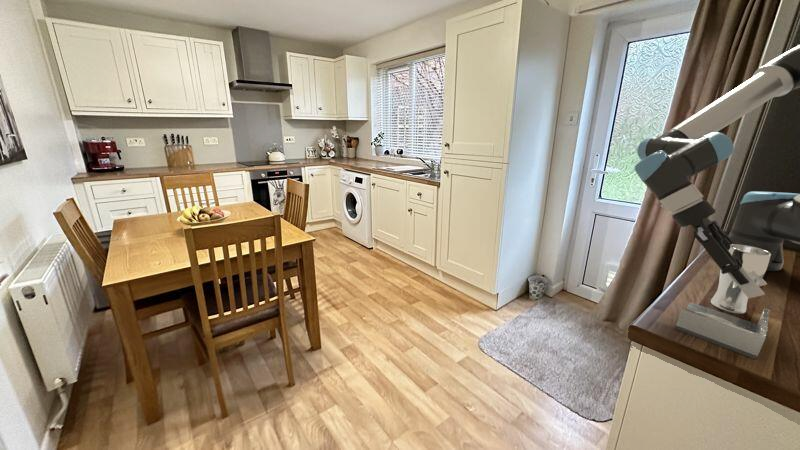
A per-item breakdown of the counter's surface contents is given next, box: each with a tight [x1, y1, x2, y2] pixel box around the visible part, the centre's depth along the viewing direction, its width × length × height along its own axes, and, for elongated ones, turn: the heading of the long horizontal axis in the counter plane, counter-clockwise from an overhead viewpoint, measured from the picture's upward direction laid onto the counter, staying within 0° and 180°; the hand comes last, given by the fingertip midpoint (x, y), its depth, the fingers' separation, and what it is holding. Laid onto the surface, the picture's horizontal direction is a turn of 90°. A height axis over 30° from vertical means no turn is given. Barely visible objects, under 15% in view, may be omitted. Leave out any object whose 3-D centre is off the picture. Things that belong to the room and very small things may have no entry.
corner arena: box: [674, 302, 771, 360], centre depth 68 cm, size 15×12×5 cm
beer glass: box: [710, 244, 771, 315], centre depth 75 cm, size 7×7×15 cm
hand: (757, 290), depth 73 cm, fingers closed on beer glass, 7 cm apart
